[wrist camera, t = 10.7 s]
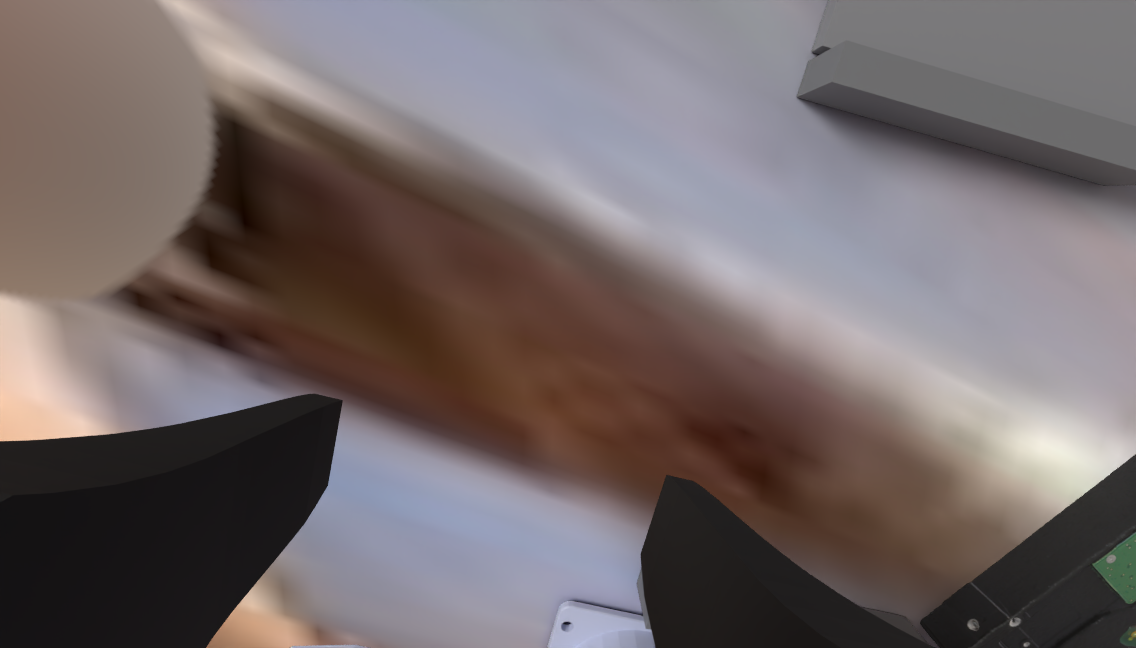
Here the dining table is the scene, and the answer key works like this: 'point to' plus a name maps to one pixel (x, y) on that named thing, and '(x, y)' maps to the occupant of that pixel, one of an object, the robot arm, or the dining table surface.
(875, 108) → the grey flat panel
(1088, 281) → the dining table surface
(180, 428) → the robot arm
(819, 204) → the dining table surface
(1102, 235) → the dining table surface
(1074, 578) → the disk drive
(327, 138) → the dining table surface
